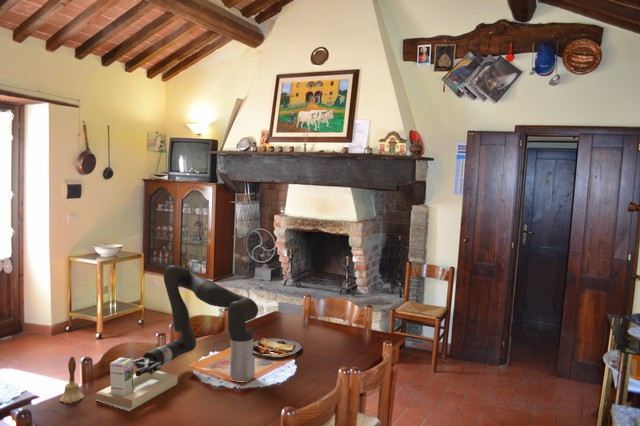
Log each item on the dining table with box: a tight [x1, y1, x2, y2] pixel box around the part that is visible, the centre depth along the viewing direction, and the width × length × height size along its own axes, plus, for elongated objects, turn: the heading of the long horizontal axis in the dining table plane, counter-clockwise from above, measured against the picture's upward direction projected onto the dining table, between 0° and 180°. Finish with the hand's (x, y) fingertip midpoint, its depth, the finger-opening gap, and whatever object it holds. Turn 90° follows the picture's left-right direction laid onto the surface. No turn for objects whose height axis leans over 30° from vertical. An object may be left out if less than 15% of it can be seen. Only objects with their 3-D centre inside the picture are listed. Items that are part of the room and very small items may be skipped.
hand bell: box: [59, 356, 85, 402], centre depth 187 cm, size 8×8×16 cm
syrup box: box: [109, 357, 134, 397], centre depth 186 cm, size 6×6×14 cm
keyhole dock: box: [95, 370, 178, 412], centre depth 194 cm, size 26×16×4 cm, turn 156°
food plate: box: [253, 337, 302, 358], centre depth 243 cm, size 25×23×4 cm
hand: (127, 371), depth 188 cm, fingers open, 8 cm apart
